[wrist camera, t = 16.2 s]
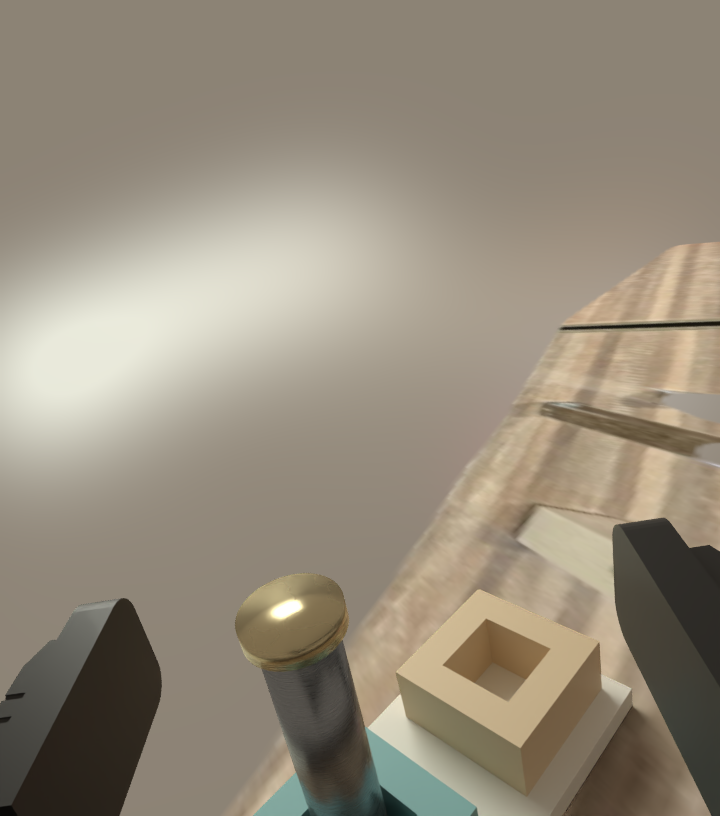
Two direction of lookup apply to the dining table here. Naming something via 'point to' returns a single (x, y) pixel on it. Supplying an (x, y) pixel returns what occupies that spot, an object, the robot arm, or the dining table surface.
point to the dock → (489, 719)
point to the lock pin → (313, 690)
